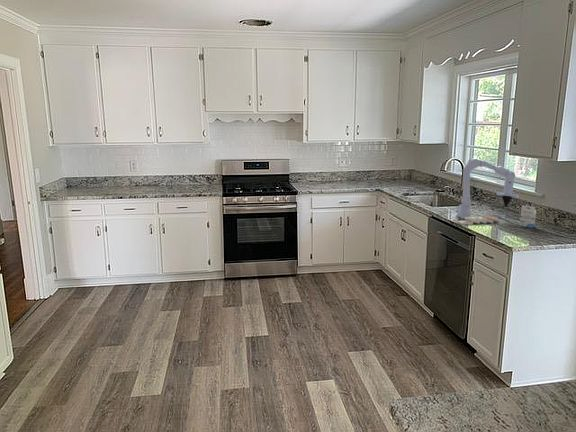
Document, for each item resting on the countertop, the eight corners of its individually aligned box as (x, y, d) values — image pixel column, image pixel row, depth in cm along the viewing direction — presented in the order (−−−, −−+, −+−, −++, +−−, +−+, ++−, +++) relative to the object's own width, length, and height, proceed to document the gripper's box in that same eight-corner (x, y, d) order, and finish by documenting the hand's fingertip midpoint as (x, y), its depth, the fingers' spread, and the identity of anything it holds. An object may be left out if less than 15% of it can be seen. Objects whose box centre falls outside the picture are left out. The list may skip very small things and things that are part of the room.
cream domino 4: (488, 221, 302) (477, 218, 300) (489, 219, 302) (478, 216, 300) (492, 223, 297) (482, 219, 295) (493, 221, 297) (482, 217, 295)
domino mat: (463, 221, 305) (463, 220, 305) (499, 219, 310) (499, 219, 310) (473, 225, 293) (473, 224, 293) (510, 223, 298) (510, 223, 298)
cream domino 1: (469, 222, 300) (457, 223, 298) (469, 220, 299) (457, 221, 298) (473, 224, 295) (461, 225, 294) (473, 221, 294) (461, 222, 293)
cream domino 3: (481, 221, 301) (471, 218, 299) (482, 219, 301) (472, 216, 299) (486, 223, 296) (475, 220, 294) (487, 221, 296) (476, 217, 294)
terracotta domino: (495, 221, 303) (483, 217, 303) (496, 219, 303) (484, 215, 303) (498, 222, 298) (486, 218, 298) (499, 220, 298) (487, 216, 298)
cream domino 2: (474, 222, 300) (464, 218, 298) (475, 220, 300) (465, 216, 298) (479, 223, 296) (468, 220, 294) (480, 221, 295) (469, 217, 293)
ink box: (534, 227, 290) (537, 206, 287) (532, 228, 287) (535, 207, 283) (520, 224, 296) (523, 204, 293) (518, 226, 292) (521, 205, 289)
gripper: (495, 187, 305) (493, 205, 308) (517, 189, 295) (514, 208, 298) (499, 186, 310) (497, 204, 313) (520, 188, 299) (518, 207, 303)
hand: (505, 206), depth 306 cm, fingers closed
